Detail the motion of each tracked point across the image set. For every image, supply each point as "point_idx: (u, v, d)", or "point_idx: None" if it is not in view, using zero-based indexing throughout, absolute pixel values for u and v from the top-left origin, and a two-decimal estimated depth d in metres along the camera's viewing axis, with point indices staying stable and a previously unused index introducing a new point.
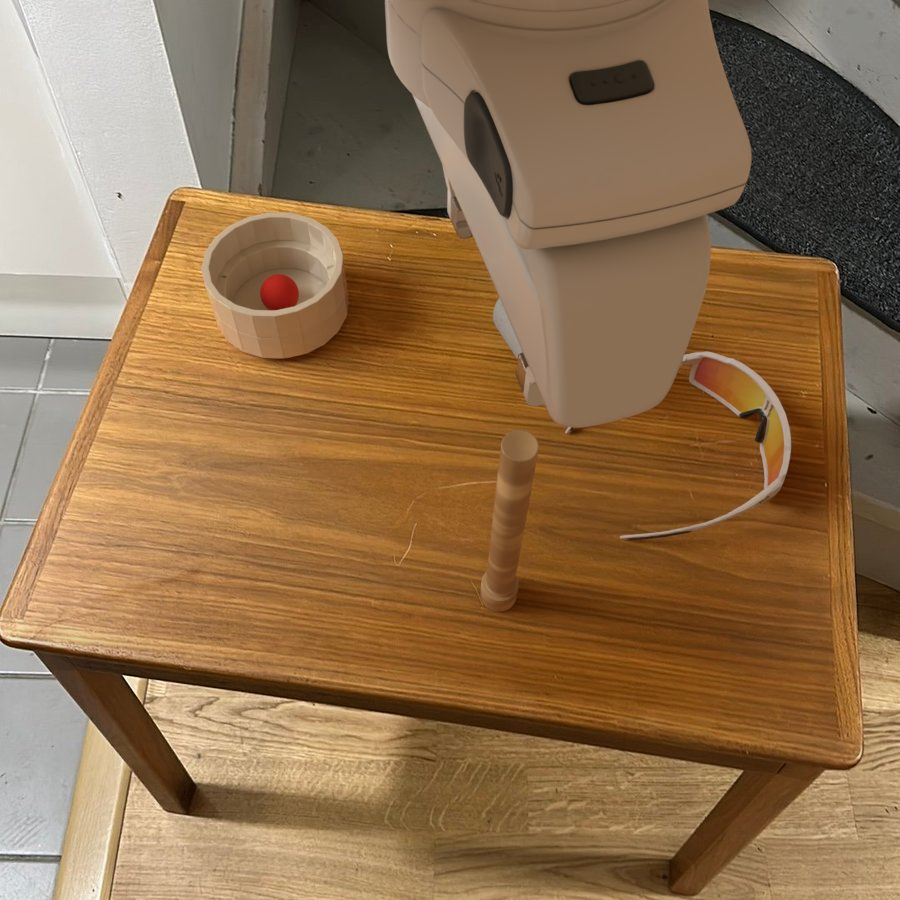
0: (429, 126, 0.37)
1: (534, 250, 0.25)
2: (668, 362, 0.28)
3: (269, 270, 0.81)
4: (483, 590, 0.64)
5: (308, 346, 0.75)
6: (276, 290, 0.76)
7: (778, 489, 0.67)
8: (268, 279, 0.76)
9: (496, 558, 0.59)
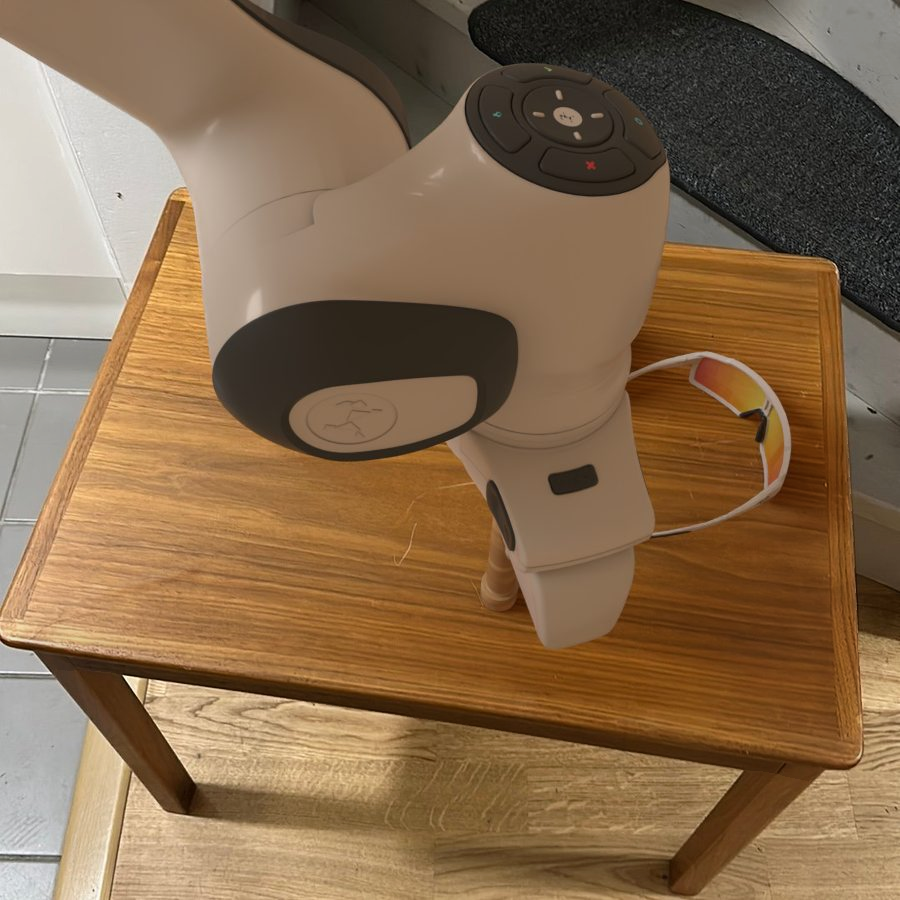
0: None
1: None
2: (611, 616, 0.45)
3: None
4: (483, 590, 0.64)
5: None
6: None
7: (778, 489, 0.67)
8: None
9: (496, 558, 0.59)
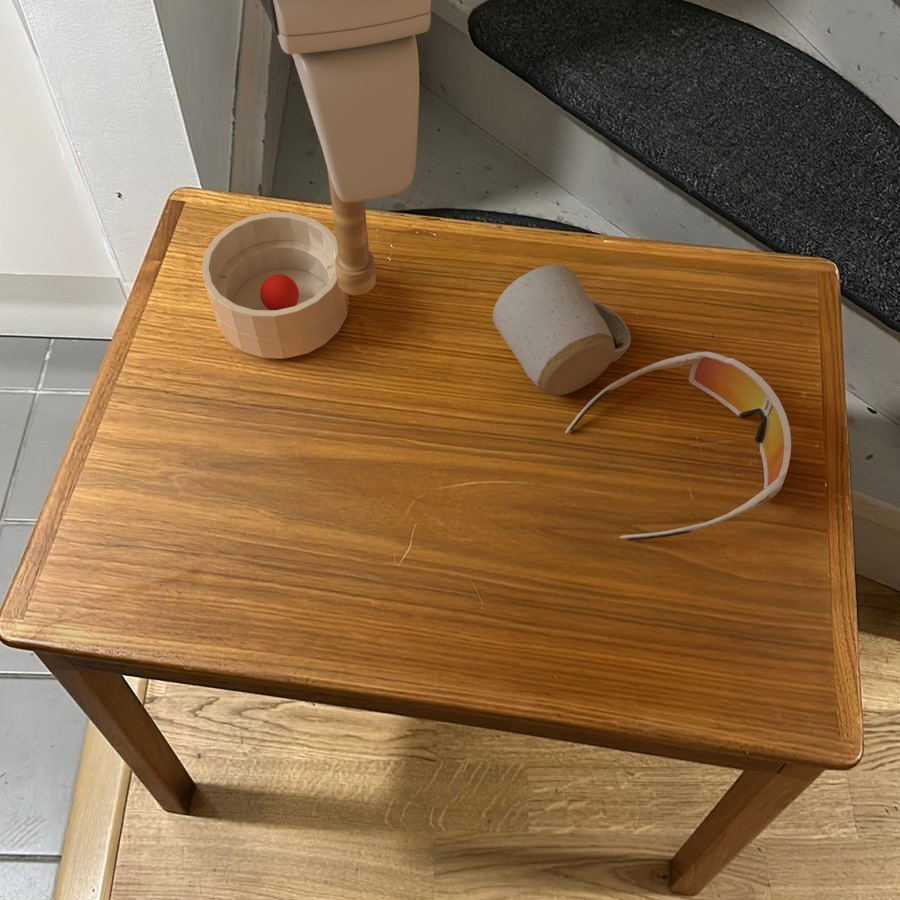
0: None
1: (298, 58, 0.39)
2: (404, 147, 0.42)
3: (269, 270, 0.81)
4: (336, 266, 0.61)
5: (308, 346, 0.75)
6: (276, 290, 0.76)
7: (778, 489, 0.67)
8: (268, 279, 0.76)
9: (337, 202, 0.55)
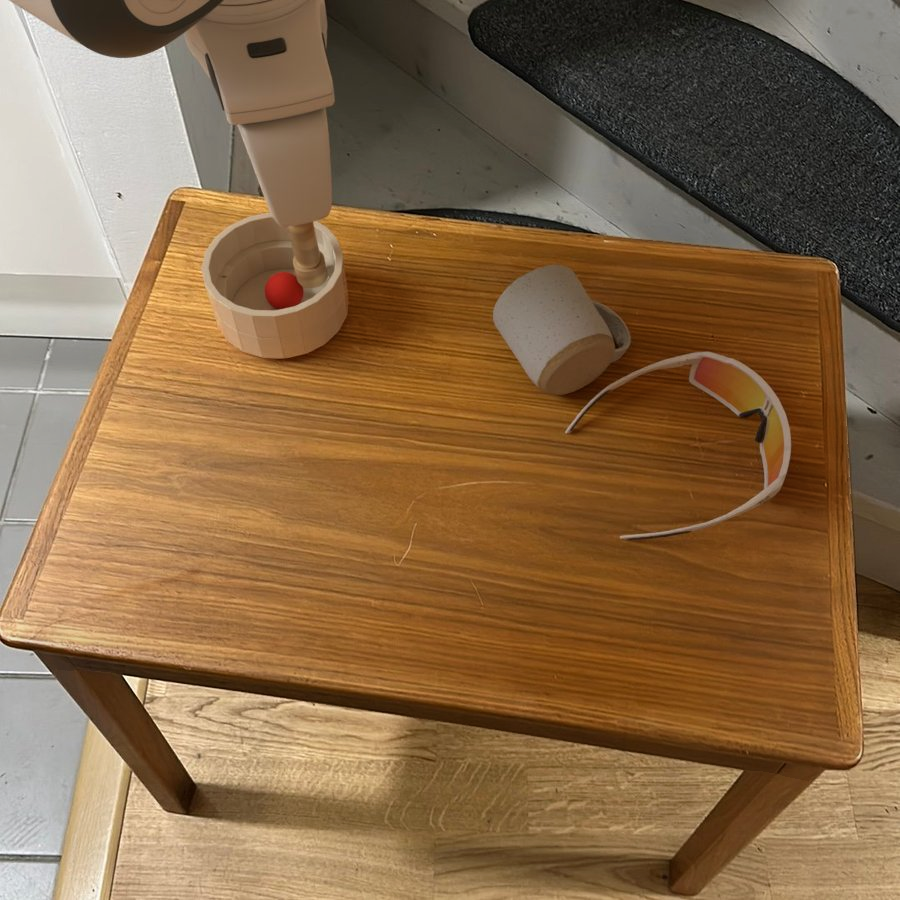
0: None
1: (240, 126, 0.54)
2: (321, 187, 0.57)
3: (269, 270, 0.81)
4: (293, 264, 0.75)
5: (308, 346, 0.75)
6: (285, 285, 0.76)
7: (778, 489, 0.67)
8: (277, 274, 0.77)
9: None
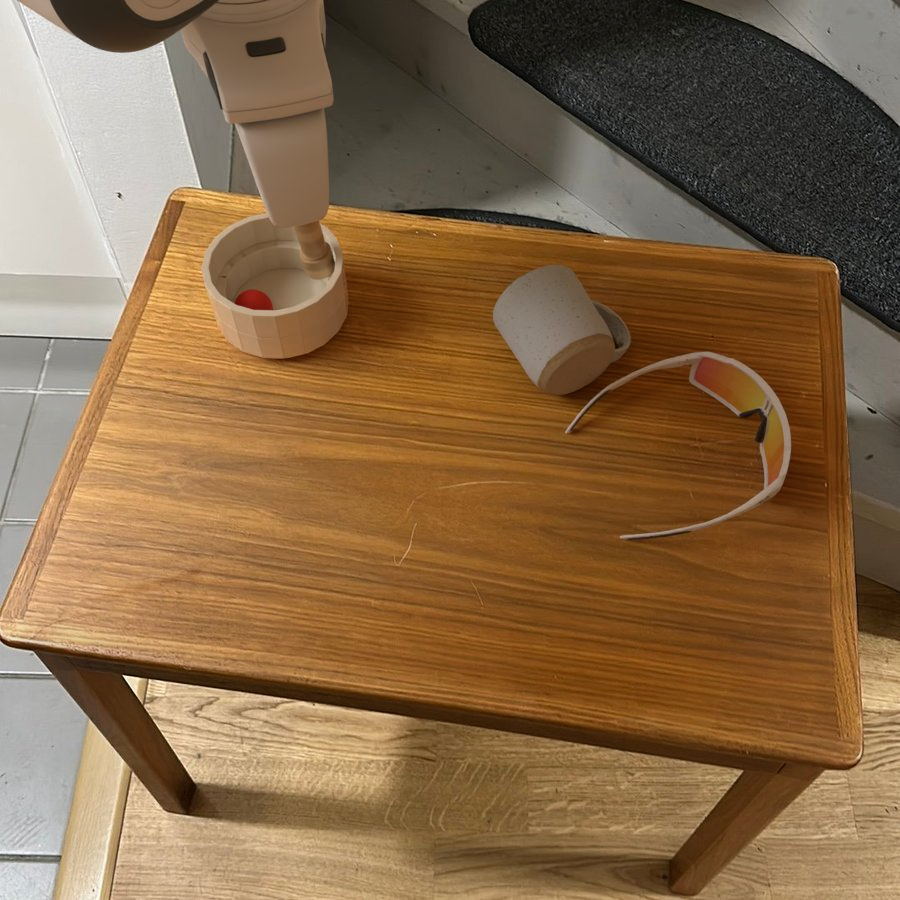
0: None
1: (237, 126, 0.53)
2: (319, 188, 0.56)
3: (269, 270, 0.81)
4: (301, 248, 0.75)
5: (308, 346, 0.75)
6: None
7: (778, 489, 0.67)
8: None
9: None
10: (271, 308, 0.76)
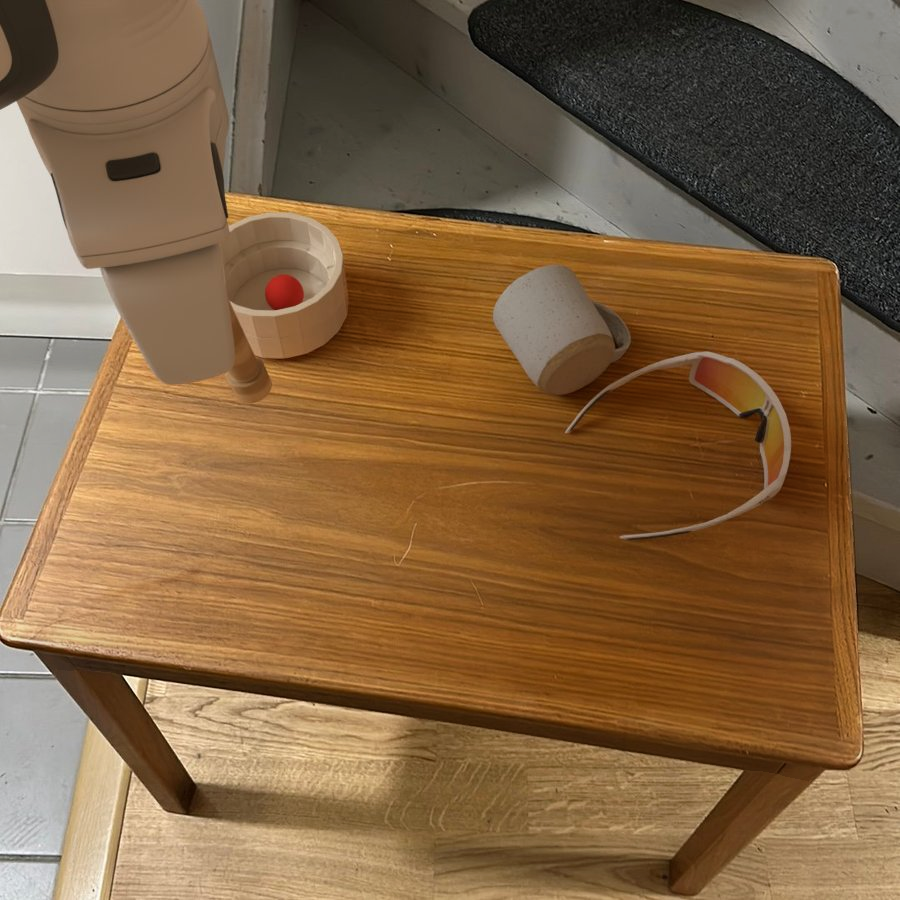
0: None
1: (100, 269, 0.40)
2: (217, 340, 0.43)
3: (269, 270, 0.81)
4: None
5: (308, 346, 0.75)
6: (281, 288, 0.76)
7: (778, 489, 0.67)
8: (278, 276, 0.76)
9: None
10: None
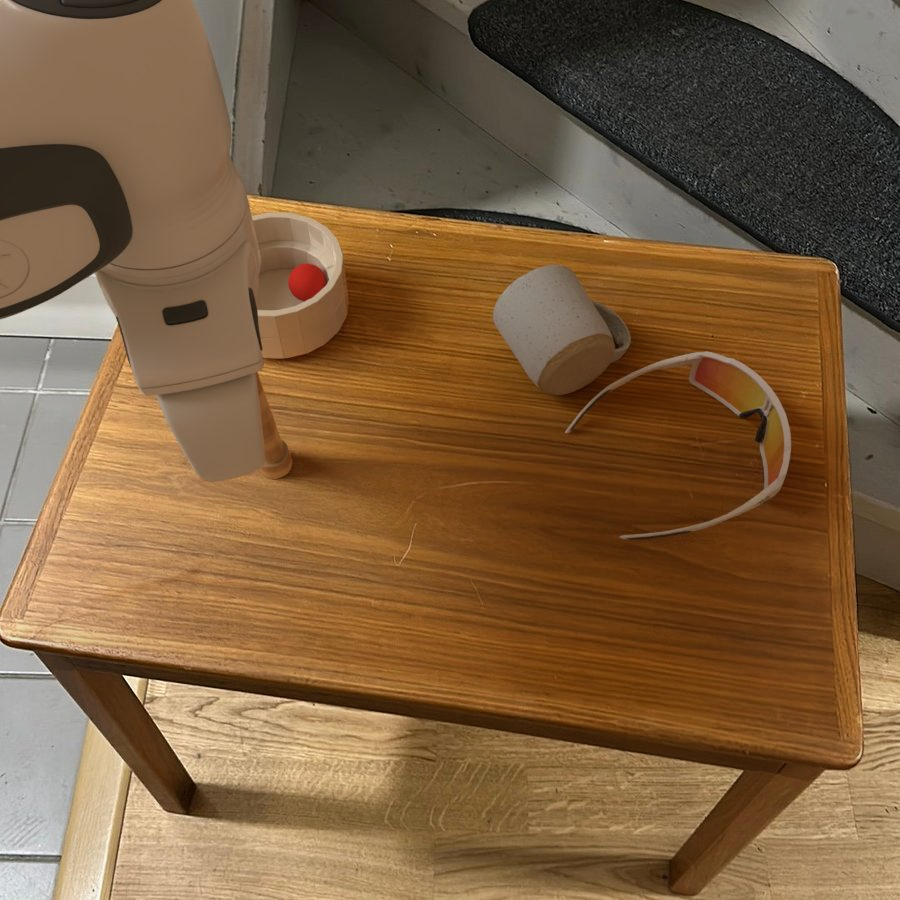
0: None
1: None
2: (251, 447, 0.51)
3: (269, 270, 0.81)
4: None
5: (308, 346, 0.75)
6: (324, 275, 0.78)
7: (778, 489, 0.67)
8: None
9: None
10: (301, 298, 0.77)
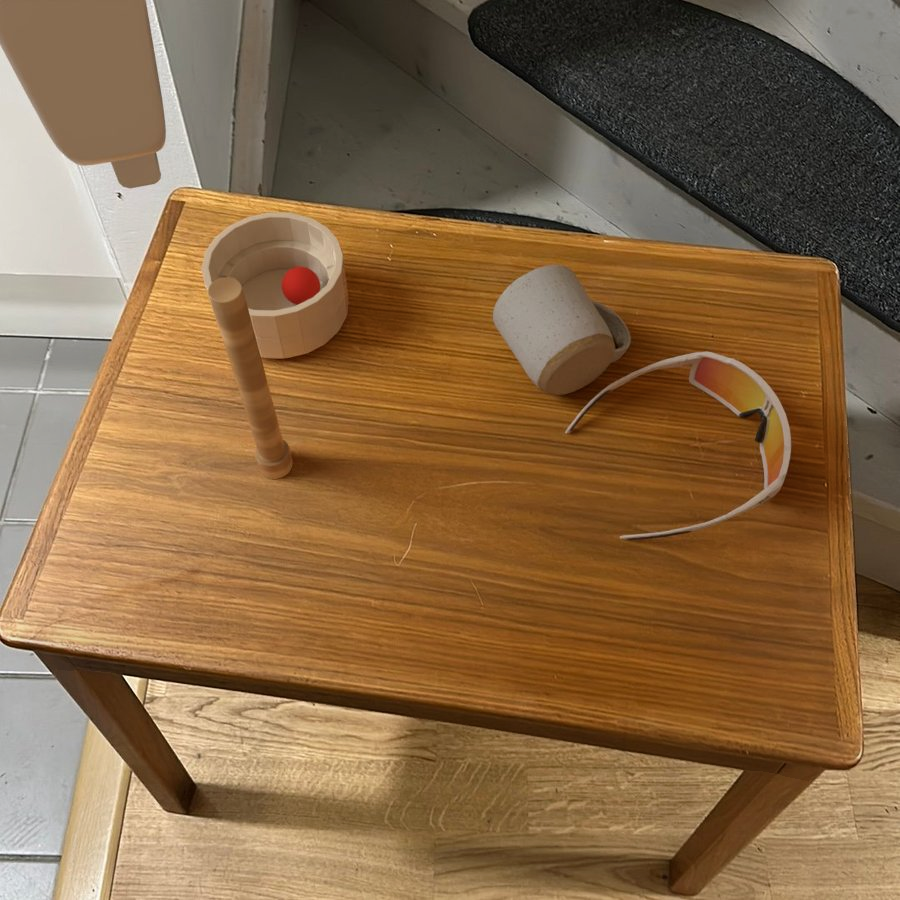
0: None
1: None
2: (137, 88, 0.31)
3: (269, 270, 0.81)
4: (256, 446, 0.70)
5: (308, 346, 0.75)
6: (313, 276, 0.77)
7: (778, 489, 0.67)
8: None
9: None
10: (297, 303, 0.78)
